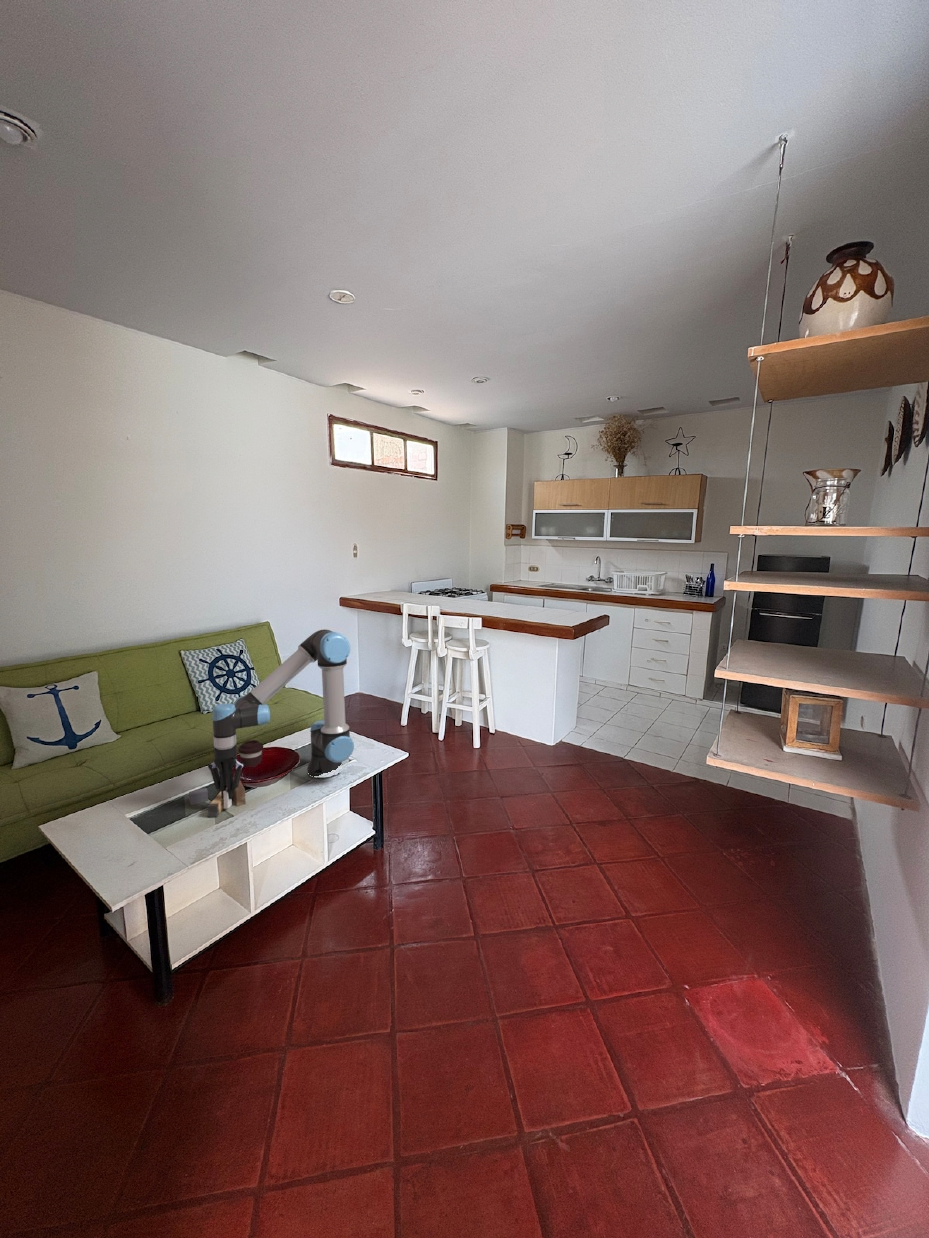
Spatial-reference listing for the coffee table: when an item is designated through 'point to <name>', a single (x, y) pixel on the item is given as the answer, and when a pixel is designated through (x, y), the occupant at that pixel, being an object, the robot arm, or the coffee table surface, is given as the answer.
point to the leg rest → (198, 796)
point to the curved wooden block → (239, 794)
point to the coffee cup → (251, 753)
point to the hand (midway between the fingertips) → (227, 806)
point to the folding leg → (215, 806)
